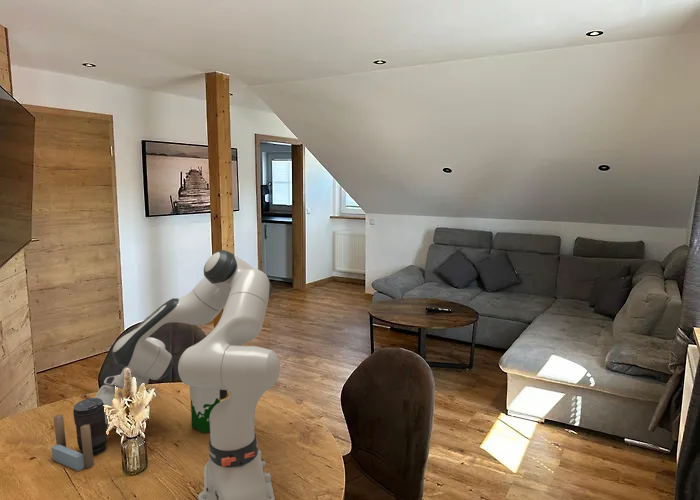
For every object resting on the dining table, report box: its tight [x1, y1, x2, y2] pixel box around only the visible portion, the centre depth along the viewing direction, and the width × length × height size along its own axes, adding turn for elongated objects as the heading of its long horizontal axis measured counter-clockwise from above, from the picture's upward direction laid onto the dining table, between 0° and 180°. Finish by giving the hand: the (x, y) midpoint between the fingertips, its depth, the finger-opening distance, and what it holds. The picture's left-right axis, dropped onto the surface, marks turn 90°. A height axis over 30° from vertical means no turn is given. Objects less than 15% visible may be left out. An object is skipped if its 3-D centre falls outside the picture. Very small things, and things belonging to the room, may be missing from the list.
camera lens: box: [72, 397, 108, 456], centre depth 147 cm, size 8×8×15 cm
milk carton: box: [188, 385, 221, 434], centre depth 160 cm, size 9×9×20 cm
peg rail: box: [50, 414, 95, 472], centre depth 142 cm, size 4×15×12 cm, turn 62°
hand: (106, 428), depth 151 cm, fingers closed
